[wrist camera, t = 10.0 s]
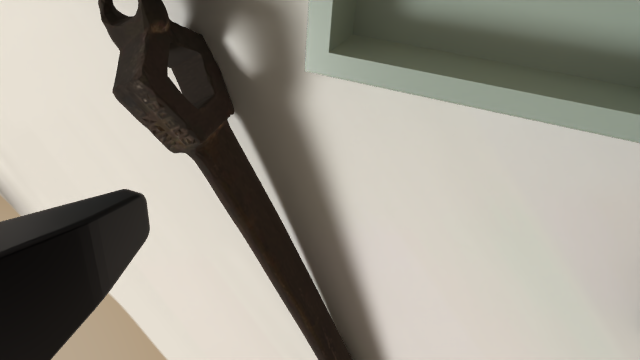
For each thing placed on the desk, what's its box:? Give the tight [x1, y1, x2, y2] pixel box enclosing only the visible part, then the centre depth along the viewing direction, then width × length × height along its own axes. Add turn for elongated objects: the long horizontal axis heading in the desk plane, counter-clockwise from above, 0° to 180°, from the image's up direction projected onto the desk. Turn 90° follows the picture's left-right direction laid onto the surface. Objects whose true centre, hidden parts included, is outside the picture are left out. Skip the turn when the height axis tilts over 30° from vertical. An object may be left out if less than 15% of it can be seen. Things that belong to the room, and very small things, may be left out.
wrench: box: [98, 0, 352, 360], centre depth 26 cm, size 5×5×30 cm
